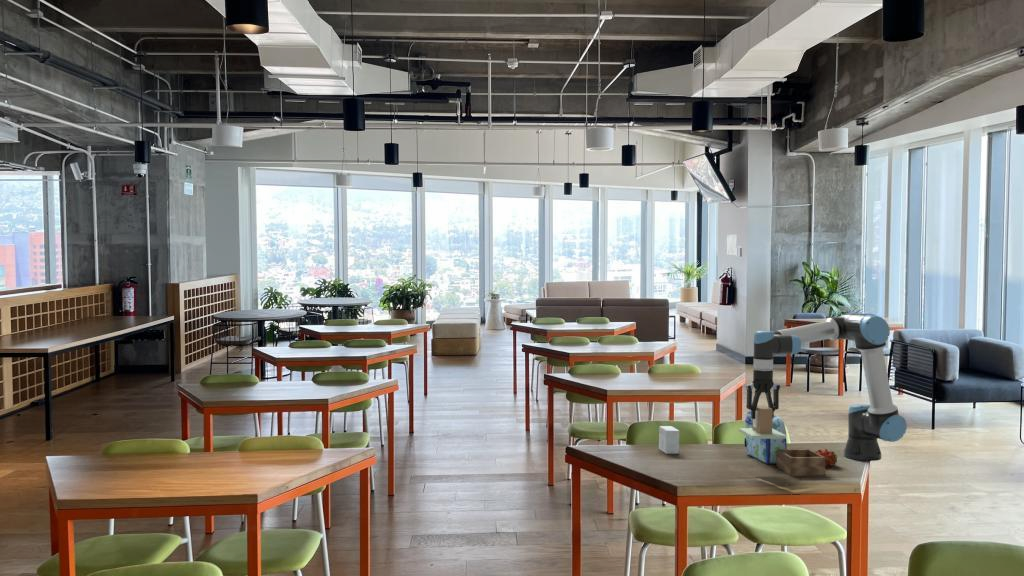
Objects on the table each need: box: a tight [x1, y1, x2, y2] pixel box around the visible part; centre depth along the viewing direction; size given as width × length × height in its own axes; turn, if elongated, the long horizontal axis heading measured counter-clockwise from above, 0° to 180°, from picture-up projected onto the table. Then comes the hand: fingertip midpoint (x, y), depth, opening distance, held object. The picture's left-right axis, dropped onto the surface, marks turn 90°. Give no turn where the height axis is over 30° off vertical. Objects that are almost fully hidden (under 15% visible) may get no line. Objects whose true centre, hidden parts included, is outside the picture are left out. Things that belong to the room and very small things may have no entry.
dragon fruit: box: [815, 448, 838, 469], centre depth 329 cm, size 8×8×12 cm
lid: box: [738, 404, 787, 439], centre depth 319 cm, size 14×14×11 cm
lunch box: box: [744, 410, 788, 465], centre depth 342 cm, size 26×11×21 cm, turn 3°
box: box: [775, 448, 826, 477], centre depth 321 cm, size 14×14×8 cm
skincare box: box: [658, 425, 680, 455], centre depth 357 cm, size 10×6×10 cm, turn 7°
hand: (762, 426), depth 319 cm, fingers closed on lid, 5 cm apart
